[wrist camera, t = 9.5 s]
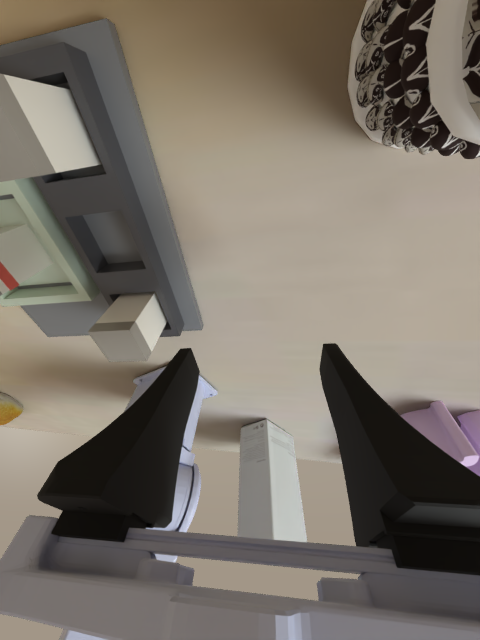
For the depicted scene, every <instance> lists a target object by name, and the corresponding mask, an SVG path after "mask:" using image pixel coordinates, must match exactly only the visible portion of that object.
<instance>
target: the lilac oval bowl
mask: <svg viewBox="0 0 480 640" xmlns="http://www.w3.org/2000/svg"><path fill="white" fill-rule="evenodd" d="M400 416H401V417H402V418H403V419H404V420H406V421H407V422H408V423H409V424H410V425H411V426H413V427H414V428H415V429H416V430H418V431H419V432H420V433H421V434H422V435H424V436H425V437H426V438H427V439H429V440H430V441H431V442H432V443H434V444H435V445H436V446H438V447H439V448H440V449H442V450H443V451H444V452H446V453H447V454H448V455H450V456H451V457H452V458H454V459H455V460H457V461H458V462H460V463H461V464H462V465H464V466H465V467H467V468H468V469H470V470H471V471H473V472H474V473H475V474H477V475H478V476H480V410H477V411H472V412H468V413H465V414H462V415H459V416H458V417H457V418H458V420H459V421H460V422H461V426H460V427H459V426H458V424H457V423H456V421H455V420H454V418H453V417H452V415H451V414H450V412H449V411H448V409H447V408H446V406H445V405H444V403H443V402H442V401H434V402H432V403H431V404H430V408H428V409H422V410H416V411H412V412H408V413H405V414H402V415H400Z"/></svg>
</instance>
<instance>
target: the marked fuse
mask: <svg viewBox="0 0 480 640" xmlns="http://www.w3.org/2000/svg"><path fill="white" fill-rule="evenodd" d="M51 264H53V261H52V260H51V258H50V257H49V255H48V254H47V252H46V251H45V249H44V248H43V247H42V245H41V244H40V242H39V241H38V239H37V238H36V236H35V235H34V233H33V232H32V230H31V229H30V228H29V226H28V225H27V224H21V225H13V226H5V227H0V296H1V295H2V294H4V293H6V292H7V291H10V290H12V289H14V288H16V287H17V286H19V284H20V283H22V282H23V281H25V280H27V279H28V278H30V277H32V276H33V275H35V274H36V273H38V272H40V271H41V270H43V269H45V268H46V267H48V266H49V265H51Z"/></svg>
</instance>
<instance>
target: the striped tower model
mask: <svg viewBox="0 0 480 640" xmlns="http://www.w3.org/2000/svg"><path fill="white" fill-rule="evenodd" d="M347 88H348V92H349V97H350V101H351V105H352V110H353V114H354V118H355V121H356V122H357V123H358V124H359V126H360V127H361V128H362V129H363V130H364V132H365V133H366V134H367V135H368V137H369V138H370V139H371V140H372V141H375V142H378V143H381V144H384V145H385V146H390V147H393V148H397V149H399V148H405V150H406V152H413V151H415V150H416V149H417V148H418V149H419V152H420V153H421V154H428V153H430V152H431V151H433V150H434V149H437V150H438V151H439V153H440V154H441V155H443V156H449V155H452V154H455V153H457V152H459V151H460V153H461V155H462V156H463V157H464V158H465V159H474V158H477V157H480V0H367V1H366V4H365V7H364V9H363V12H362V15H361V18H360V21H359V23H358V26H357V29H356V32H355V34H354V37H353V40H352V44H351V54H350V64H349V74H348V85H347Z"/></svg>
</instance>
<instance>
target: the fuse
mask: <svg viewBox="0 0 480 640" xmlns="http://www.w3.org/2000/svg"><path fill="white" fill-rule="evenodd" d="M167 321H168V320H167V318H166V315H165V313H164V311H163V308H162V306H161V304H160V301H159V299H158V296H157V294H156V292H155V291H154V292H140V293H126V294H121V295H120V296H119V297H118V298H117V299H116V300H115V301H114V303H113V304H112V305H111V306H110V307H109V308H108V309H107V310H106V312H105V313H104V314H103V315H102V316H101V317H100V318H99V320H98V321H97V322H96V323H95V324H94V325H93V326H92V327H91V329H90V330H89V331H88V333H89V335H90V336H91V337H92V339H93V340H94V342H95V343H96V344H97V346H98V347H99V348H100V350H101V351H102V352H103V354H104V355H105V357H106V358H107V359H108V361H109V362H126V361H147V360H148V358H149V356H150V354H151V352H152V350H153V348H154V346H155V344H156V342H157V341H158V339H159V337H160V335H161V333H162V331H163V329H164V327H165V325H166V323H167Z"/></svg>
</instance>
